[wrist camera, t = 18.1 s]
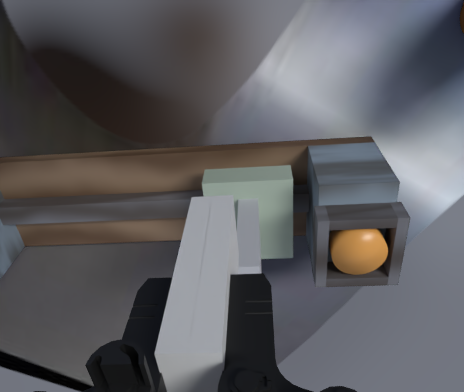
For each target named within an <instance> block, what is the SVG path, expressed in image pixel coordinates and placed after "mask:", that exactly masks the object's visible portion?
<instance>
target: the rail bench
mask: <svg viewBox="0 0 464 392" xmlns="http://www.w3.org/2000/svg"><path fill="white" fill-rule="evenodd" d="M283 165H291V171H292V176H293V236H302V235H306V238H307V243H308V248H309V253H310V259H311V264H312V272H313V277H314V282H315V287H343V286H375V285H398V283H399V277H400V272H401V266H402V261H403V255H404V250H405V245H406V239H407V234H408V228H409V223H410V216H409V215H408V213H407V211H406V209H405V208H404V206H403V204H402V203H401V202H397V197H398V191H399V184H400V182H399V180H398V178H397V177H396V175H395V174H394V172H393V170H392V169H391V167H390V166H389V164H388V163H387V161H386V159H385V158H384V156H383V155H382V153H381V151H380V150H379V148H378V147H377V145H376V143H375V142H374V140H373V139H372V137H355V138H337V139H319V140H301V141H283V142H266V143H248V144H230V145H212V146H195V147H177V148H159V149H141V150H123V151H106V152H88V153H70V154H52V155H34V156H17V157H0V279H1V278H2V276H3V275H4V274H5V272H6V271H7V270H8V268H9V267H10V266H11V264H12V263H13V262H14V260H15V259H16V258H17V256H18V255H19V254H20V252H21V251H22V250H23V248H24V247H25V246H43V245H69V244H95V243H121V242H147V241H173V240H182V236H183V231H184V227H185V223H186V219H187V214H188V210H189V206H190V202H191V198H192V197H204V196H203V189H202V180H203V176H204V171H205V170H206V169H225V168H245V167H264V166H283ZM378 228H379V229H380V231H381V233H382V235H383V238H384V240H385V242H386V244H387V247H388V255H387V258H386V260H385V261H384V263H383V264H382V265H381V266H380V267H378V268H377V269H375V270H374V271H372V272H369V273H366V274H360V275H353V274H347V273H344V272H342V271H340V270H339V269H338V268H337V267H336V266H335V265H334V263H333V260H332V257H331V253H330V249H329V245H328V241H329V235H330V232H331V231H332V230H352V229H378Z"/></svg>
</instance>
